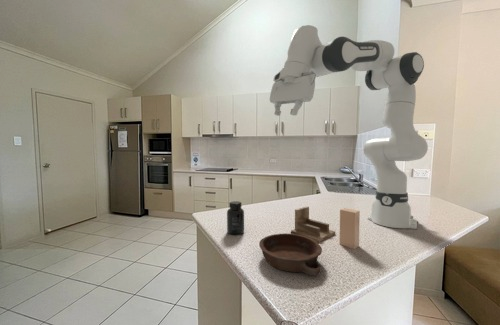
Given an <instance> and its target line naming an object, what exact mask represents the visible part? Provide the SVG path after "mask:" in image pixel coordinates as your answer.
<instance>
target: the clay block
mask: <svg viewBox="0 0 500 325" xmlns="http://www.w3.org/2000/svg"><path fill="white" fill-rule="evenodd" d="M360 213H361V211H360V210H357V209H351V208H347V207H344V208H342V209H341V208H340V210H339V245H341V246H344V247H347V248H350V249H353V250H356V249H357V248H358V247H360V218H361V217H360Z"/></svg>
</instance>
